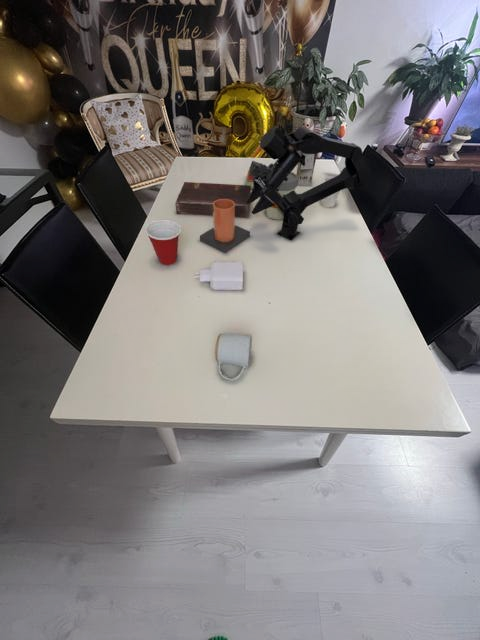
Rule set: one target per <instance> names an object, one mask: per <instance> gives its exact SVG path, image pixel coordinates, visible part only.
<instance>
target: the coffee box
mask: <svg viewBox="0 0 480 640" xmlns="http://www.w3.org/2000/svg"><path fill="white" fill-rule="evenodd" d="M299 154H304V153H302V152H301V151H299ZM304 155H305V156H306V157H305V166H303V165H302V164H301V163H298V164H297V166H296V173H295V174H296V175H297V186H309V187H310V186H311V185H312V180H313V176H314V170H315V165H316V162H317V156H318V153H317V154H304Z"/></svg>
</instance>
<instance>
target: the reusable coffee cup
mask: <svg viewBox="0 0 480 640" xmlns="http://www.w3.org/2000/svg"><path fill="white" fill-rule="evenodd" d="M296 174H297V173H295V172H293V171H292V172H291V173H290V174H289V175H288V177H287V178H288V180H287V181H285V180H284V181H283V183H282V184H281V185H280V186H279V187H278V189H279V191H278V192H279V193H280V195H281V196H282V197H284V196H283V195H285V194H288V193H289V192H291V191H295V192H296V189H297V187H298V183H297V175H296ZM265 215H266V217H268V218H269V219H273V220H283V216H282V215H281V213H280V212H279V210H278V209H277V205H276V204H275V206H272V207H269V208H267V209H265Z"/></svg>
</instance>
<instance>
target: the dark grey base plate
mask: <svg viewBox="0 0 480 640" xmlns="http://www.w3.org/2000/svg"><path fill="white" fill-rule="evenodd" d="M250 237H251V231H249V230H248V229H246V228H243V227H240V226H239V225H237V224H235V237H234V239H233V240H231V241H229V242H220V241H218V240H216V239H215V237H214V227H212V228H209V230H206V231H205V232H204V233H202V234H200V235H199V241H200V242H201V243H204V244H205V245H207V246H210V247H211V248H214V249H216V250H217V251H219V252H221V253H223V254H227V253H228V252H229V251H232V250H233V249H234V248H236V247H237V246H239V245H240V244H242V243H243V242H245V241H246V240H247V239H249V238H250Z"/></svg>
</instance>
